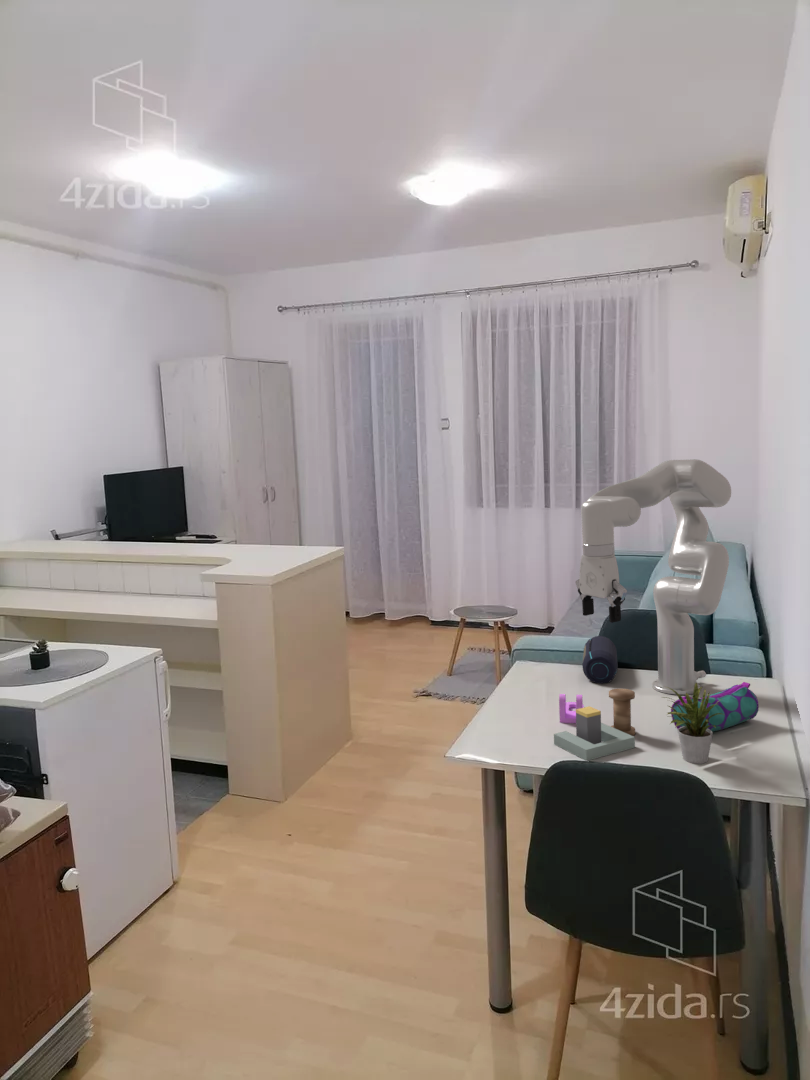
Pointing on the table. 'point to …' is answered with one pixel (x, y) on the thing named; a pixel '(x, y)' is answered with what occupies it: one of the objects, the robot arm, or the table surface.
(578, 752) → the notched board
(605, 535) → the robot arm
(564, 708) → the bracket
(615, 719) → the bobbin
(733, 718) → the pencil case
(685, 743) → the house plant
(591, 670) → the portable speaker
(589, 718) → the yellow and grey block
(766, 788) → the table surface
